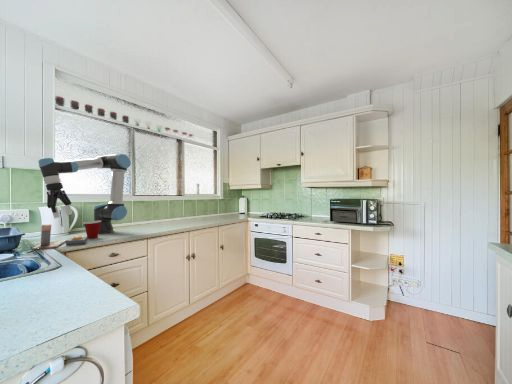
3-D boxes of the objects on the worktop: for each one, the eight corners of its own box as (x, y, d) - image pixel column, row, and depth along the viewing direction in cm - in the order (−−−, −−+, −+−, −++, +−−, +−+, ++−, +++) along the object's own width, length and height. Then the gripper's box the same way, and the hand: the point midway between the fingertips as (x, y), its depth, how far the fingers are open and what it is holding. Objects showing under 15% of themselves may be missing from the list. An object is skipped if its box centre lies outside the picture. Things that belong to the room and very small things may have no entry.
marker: (51, 244, 133) (52, 224, 133) (48, 245, 129) (50, 225, 130) (41, 244, 131) (43, 224, 131) (39, 246, 127) (40, 225, 127)
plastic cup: (82, 237, 159) (82, 221, 159) (100, 235, 166) (101, 220, 166) (82, 240, 151) (82, 222, 151) (101, 238, 157) (102, 221, 158)
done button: (82, 239, 144) (82, 236, 144) (80, 240, 140) (80, 237, 140) (73, 239, 142) (74, 236, 142) (72, 241, 138) (72, 237, 138)
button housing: (87, 241, 147) (87, 236, 147) (84, 244, 139) (84, 239, 139) (70, 242, 143) (70, 238, 143) (65, 245, 135) (66, 240, 135)
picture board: (67, 241, 146) (67, 239, 146) (56, 248, 129) (56, 246, 129) (45, 243, 141) (45, 241, 141) (31, 250, 123) (31, 248, 123)
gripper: (58, 184, 147) (68, 215, 149) (31, 184, 123) (43, 221, 125) (71, 182, 149) (80, 212, 151) (47, 181, 125) (58, 217, 127)
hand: (64, 216), depth 138 cm, fingers open, 13 cm apart
